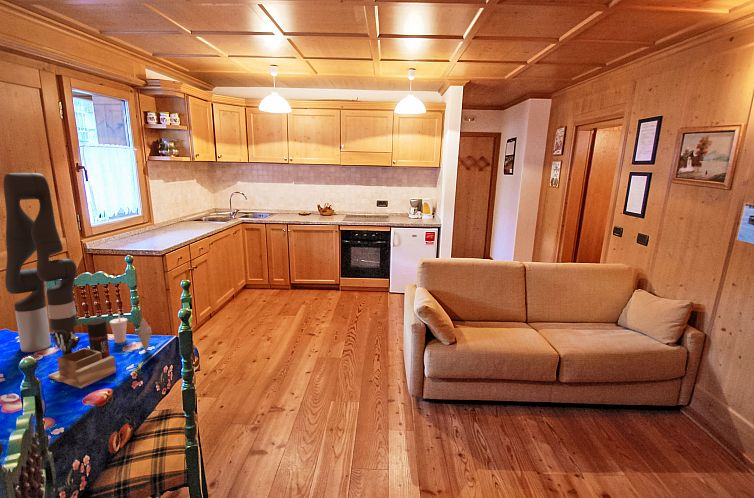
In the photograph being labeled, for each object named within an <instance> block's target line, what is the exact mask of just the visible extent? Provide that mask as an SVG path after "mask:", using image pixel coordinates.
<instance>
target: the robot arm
mask: <svg viewBox="0 0 754 498" xmlns="http://www.w3.org/2000/svg"><path fill="white" fill-rule="evenodd" d="M3 193H4V195H3V196H4V202H5V203H4V204H5V211H6V215H5V218H6V225H5V226H6V227H5V241H6V243H5V244H6V245H5V246H6V268H5V275H4V276H5V277H4V278H5V279H4V283H5V289H6V291H7V292H8V293H9V294H10V295H19V294H24V293H25V294H27V293H30V294H29V295H27V296H25V297H24V298H22V299H19V300H18V301H16V302H14V312H15V318H16V324H17V333H18V340H19V345H20V350H21V352H22V353H32V352H33V353H36V352H38V351H42V350H46V349H48V348H50V347H51V345H52V340H53V342H54V343H55V345H56V347H57V348H58V349H60V350H61V351H62V356H64V355H67V354H69V353H72V352H73V349H76V348H77V347H78V344H79V343H80V340H81V336H76V335H75V334H76V332H75V329H74V328H75V327H76V326H77V325H78V317H77V316H78V315H77V310H76V304H75V300H74V293H73V292H74V291H73V290H74V284H75V279H76V275H77V264H76V262H75V261H74V260H72V259H71V258H62V259H53V260H50V257H51V256H54V255H57V254H60V253H61V252H63V250H64V248H63V244H62V241H61V237H60V235H59V232H58V229H57V225H56V221H55V214H54V207H53V202H52V196H51V190H50V186H49V183H48V179H46V176H44V174H43V173H38V172H9V173H6V174H5V175H4V177H3ZM23 200H38V204H39V210H38V214H37V215H36V218H35V220H34V219H32V218H31V217H30V216H29V215H28V214H27V213H26V212H25V210H24V209H23V208H22V207H21V201H23ZM35 252H36V258H37V259H36V267H31V268H24V269H22V267H23V265H24V264H25V263H26V261H28V259H29V258H30V257H31V256H32V255H33V254H34V253H35ZM59 280H60V282H59V283H57V284H55V285H53V286H50V287H48V288H47V290H46V291H45V282H53V281H59ZM46 298H47V300H46ZM46 301H47V302H46ZM51 330H52V331H54V332H52V333H51V332H50V331H51ZM51 338H52V339H51Z"/></svg>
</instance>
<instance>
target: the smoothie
mask: <svg viewBox="0 0 754 498" xmlns="http://www.w3.org/2000/svg"><path fill="white" fill-rule="evenodd" d="M120 312H121V311H120V310H118V311H117V314H118V315H117V316H118V317H117V318H114V319H111V320H110V321H109V325H110V328H111V330H112V331H111V332H112V335H113V339H114V342H115V343H116V344H122V343H125V342H126V340H127V339H126V338H127V326H128V324H127V323H128V318H126V317H121V314H120Z"/></svg>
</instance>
